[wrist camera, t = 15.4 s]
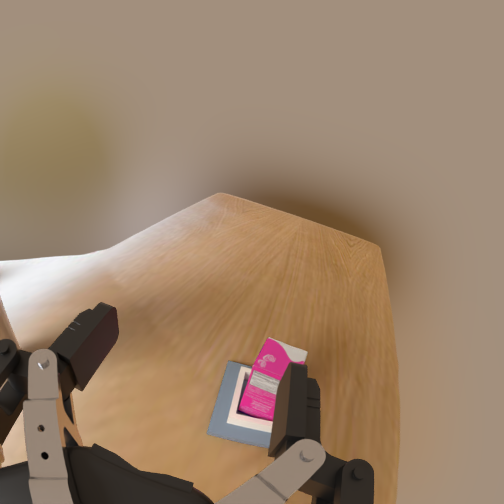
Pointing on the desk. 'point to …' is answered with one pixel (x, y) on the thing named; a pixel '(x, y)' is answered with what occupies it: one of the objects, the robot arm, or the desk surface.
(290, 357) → the supplement box
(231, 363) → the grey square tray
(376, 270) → the desk surface
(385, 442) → the desk surface
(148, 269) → the desk surface
